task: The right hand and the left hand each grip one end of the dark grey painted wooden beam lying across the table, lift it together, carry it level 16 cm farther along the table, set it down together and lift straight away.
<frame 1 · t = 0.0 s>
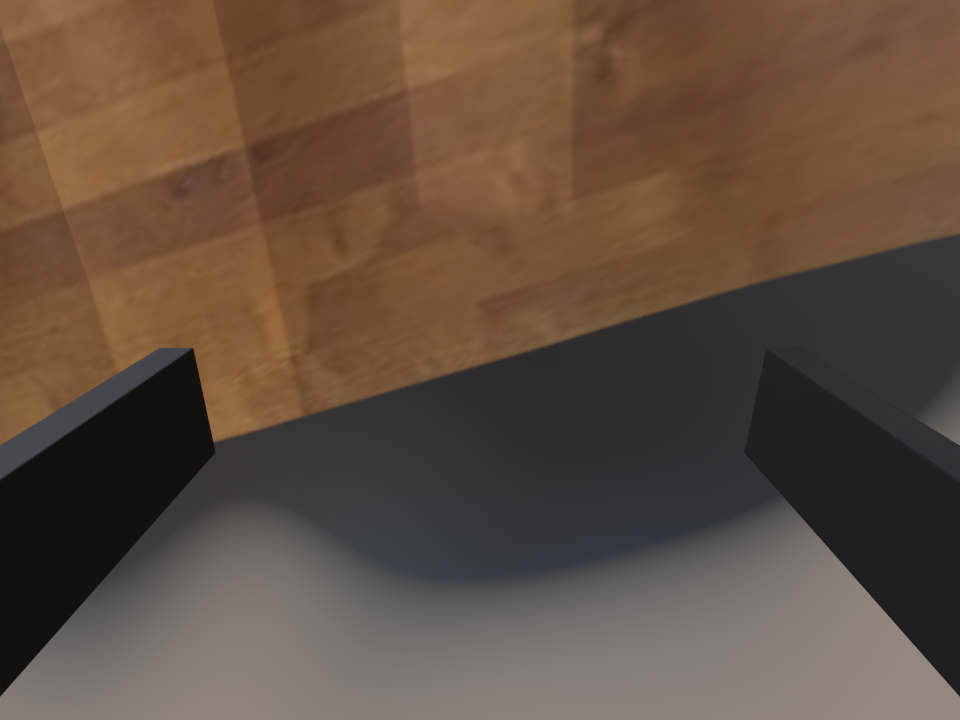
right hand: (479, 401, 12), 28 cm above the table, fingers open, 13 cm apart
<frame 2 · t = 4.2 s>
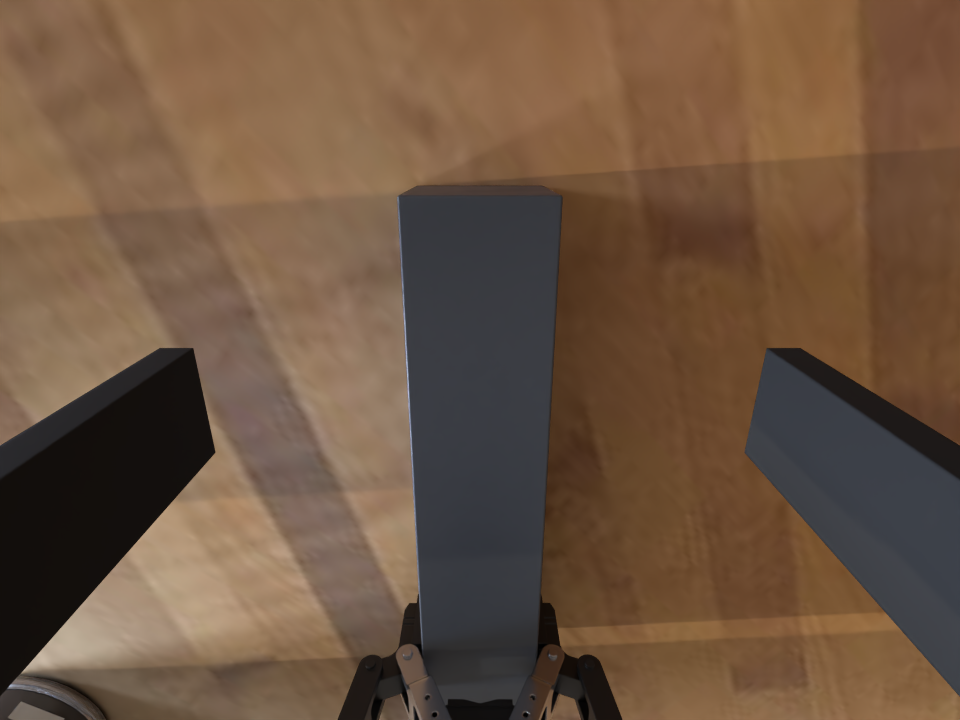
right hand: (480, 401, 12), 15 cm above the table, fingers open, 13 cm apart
grey beam: (479, 446, 30), on the table, touching left hand
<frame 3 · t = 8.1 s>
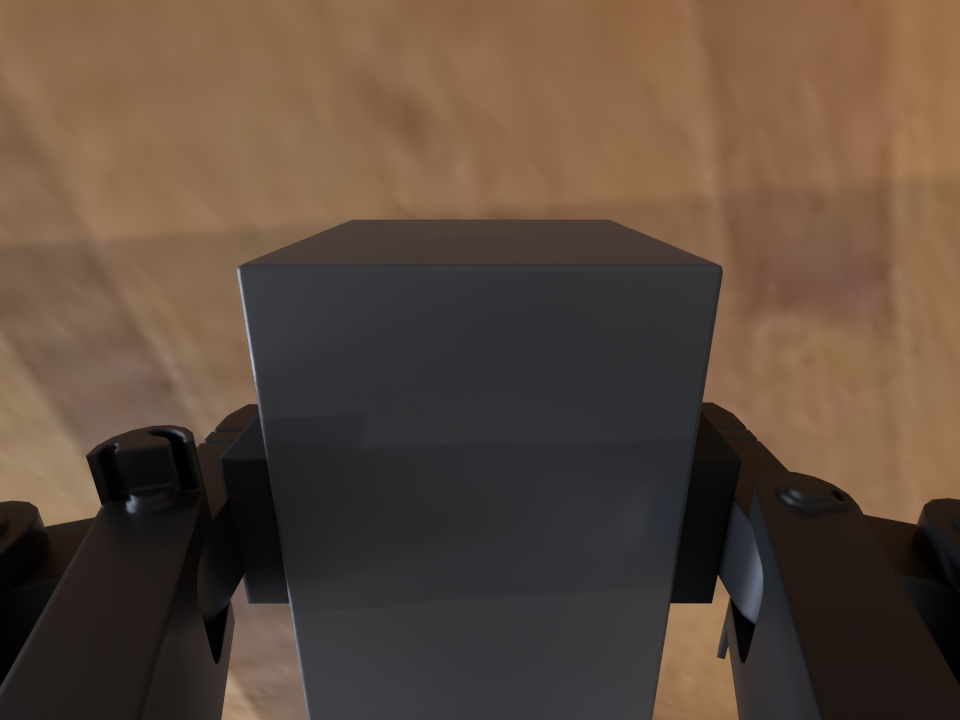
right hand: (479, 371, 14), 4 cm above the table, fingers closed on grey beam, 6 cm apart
grey beam: (480, 671, 17), point 5 cm above the table, touching right hand, left hand
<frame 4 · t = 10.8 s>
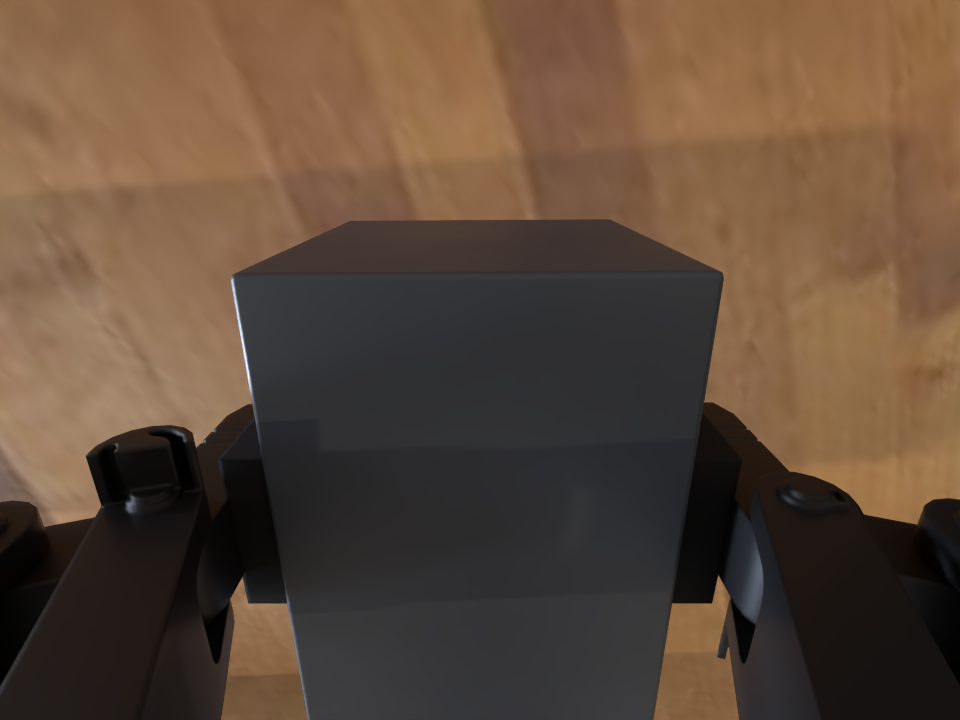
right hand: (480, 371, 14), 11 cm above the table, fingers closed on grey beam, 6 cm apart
grey beam: (482, 669, 17), point 12 cm above the table, touching right hand, left hand
when the right hand's fingers open (0 cm above the table, at t = 13.7 s): grey beam drops 1 cm, on the table.
when the left hand's fingers open (3 cm above the table, at t = 13.9 s): grey beam drops 1 cm, on the table.
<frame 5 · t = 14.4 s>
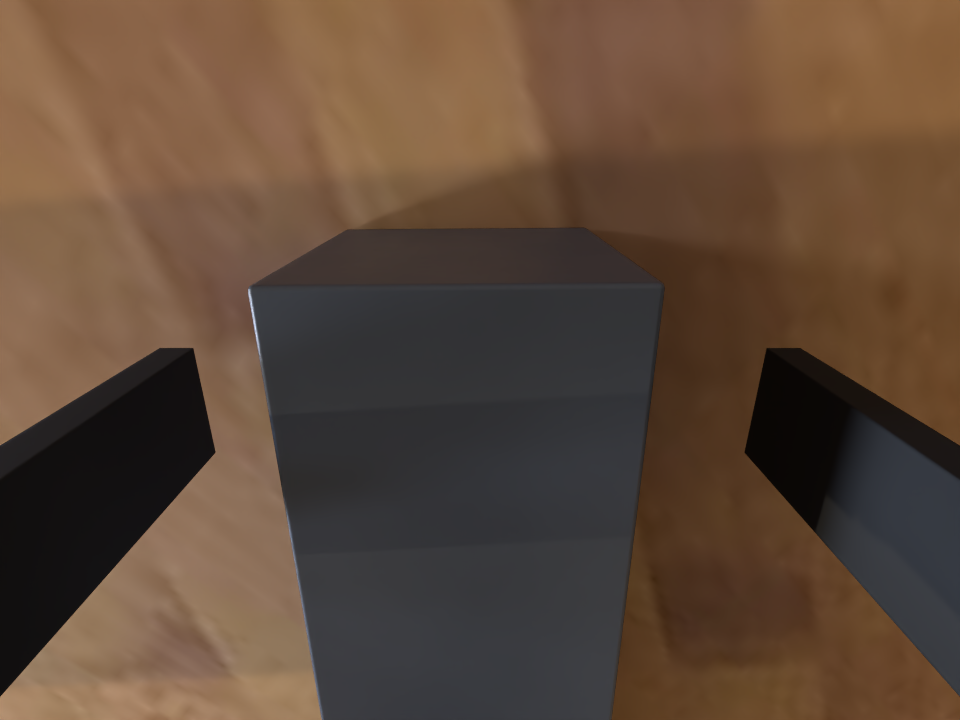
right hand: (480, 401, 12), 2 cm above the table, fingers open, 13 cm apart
grey beam: (472, 642, 18), on the table
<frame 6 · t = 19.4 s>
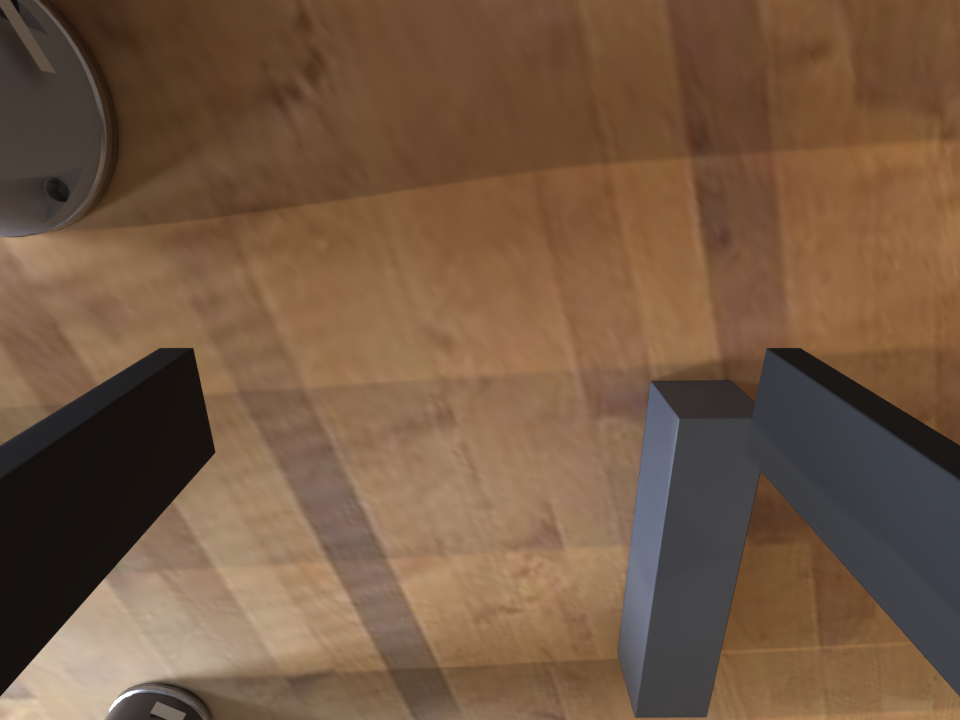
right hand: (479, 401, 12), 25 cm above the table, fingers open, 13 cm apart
grey beam: (667, 533, 44), on the table
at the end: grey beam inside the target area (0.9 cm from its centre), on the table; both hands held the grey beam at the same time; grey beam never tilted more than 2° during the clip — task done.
